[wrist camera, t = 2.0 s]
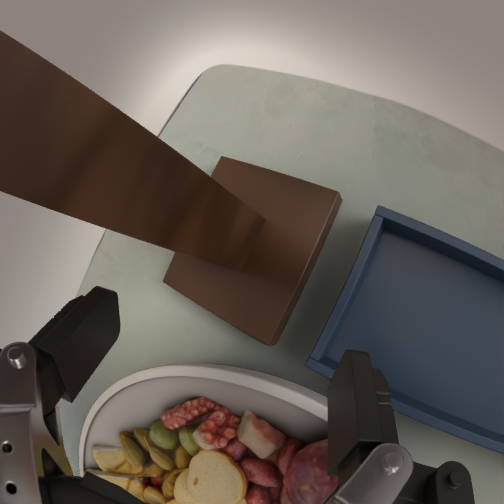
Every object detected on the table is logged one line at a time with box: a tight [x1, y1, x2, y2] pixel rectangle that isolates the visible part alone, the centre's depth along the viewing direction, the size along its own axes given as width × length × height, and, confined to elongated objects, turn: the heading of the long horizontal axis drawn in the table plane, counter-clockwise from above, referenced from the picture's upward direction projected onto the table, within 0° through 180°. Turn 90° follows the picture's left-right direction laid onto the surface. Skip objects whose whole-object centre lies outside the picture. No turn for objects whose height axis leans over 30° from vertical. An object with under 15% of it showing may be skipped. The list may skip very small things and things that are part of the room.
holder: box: [305, 205, 504, 454], centre depth 14 cm, size 10×21×3 cm, turn 62°
